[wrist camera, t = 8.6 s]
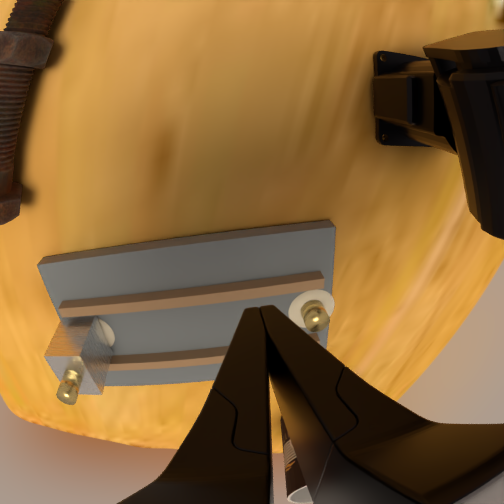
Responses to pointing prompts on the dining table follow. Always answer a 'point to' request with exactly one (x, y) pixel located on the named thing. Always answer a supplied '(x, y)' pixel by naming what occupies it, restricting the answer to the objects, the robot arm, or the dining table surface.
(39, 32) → the bolt
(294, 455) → the coffee mug
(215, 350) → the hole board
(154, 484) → the robot arm
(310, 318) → the fixed brass pin
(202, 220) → the dining table surface
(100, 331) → the sliding pin block
